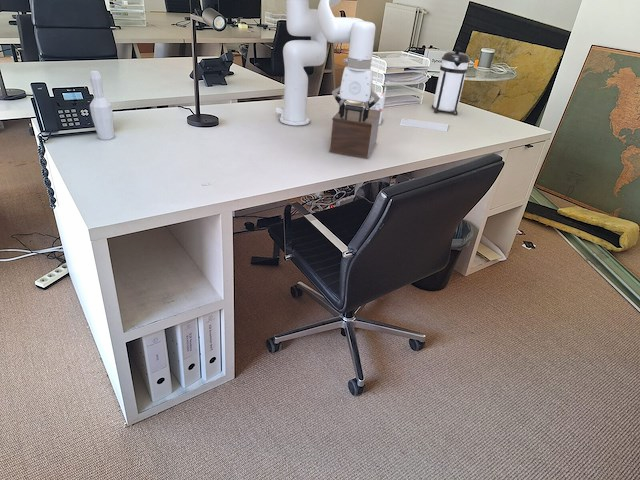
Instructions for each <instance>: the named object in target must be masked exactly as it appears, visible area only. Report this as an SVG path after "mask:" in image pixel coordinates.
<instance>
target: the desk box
mask: <svg viewBox="0 0 640 480" xmlns="http://www.w3.org/2000/svg"><path fill="white" fill-rule="evenodd" d="M379 119H380V114H379V116H378V117H377V119H376V120H375V122H374V123H373V125H372V126H366V125H360V124H354V123H347V122H341V121H335V120H332V122H331V123H332V125H331V134H330V146H329V153H332V154H338V155H342V156H347V157H354V158H361V159H365V160H367V159H368V158H369V156H370V155H371V153H372V151H373V149H374V148H375V146H376V144H377V139H378V132H379V125H380V124H379Z"/></svg>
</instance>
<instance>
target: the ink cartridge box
mask: <svg viewBox="0 0 640 480" xmlns="http://www.w3.org/2000/svg"><path fill="white" fill-rule="evenodd" d="M374 92H375V93H376V94H377V95H378V96H379V97H380V99H379V101H378V102H377V103H376V104H375V105H374V106H372V107H371V109H373V110H380V111H381V112H380V119H379V125H381V124H382V121H383V116H384V108H385V102H386V96H387V86H385V87H384V89H383V92H380V91H379V92H378V91H374ZM373 100H374V98H373V97H372V101H373Z"/></svg>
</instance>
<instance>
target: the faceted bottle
mask: <svg viewBox="0 0 640 480" xmlns="http://www.w3.org/2000/svg"><path fill="white" fill-rule="evenodd" d="M89 80H90V85H91V88H92V94H93V99H92V100H91V102H90V104H89V110H90V114H91V119H92V123H93V125H94V128H95V132H96V134H97V137H98V139H100V140H105V141H106V140H112V139H114V138H115V124H114V122H115V121H114V120H115V119H114V112H113V106H112V103H111V102H110V101H109V100H107V98H106V97H105V93H104V89H103V77H102V75H101V73H100V72H99V70H91V71H90V72H89Z"/></svg>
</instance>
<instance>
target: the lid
mask: <svg viewBox="0 0 640 480" xmlns="http://www.w3.org/2000/svg"><path fill="white" fill-rule="evenodd" d="M364 109H365V107H364V106H359V105H354V104H347V103H345V111H344V116H343V117H342V118H340V114H339V111H337V112H336V113H335V115H333V117H332V118H331V121H333V120H335V121H341V122H347V123H354V124H360V125H366V126H372V125H373V123H374V122H375V120H376V119H377V117H378V116H379V114H380V112H381V111H380V110H373V109H372V108H370V109H369V114H368V119H366V120H365V121H362V120H363V112H364Z"/></svg>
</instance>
